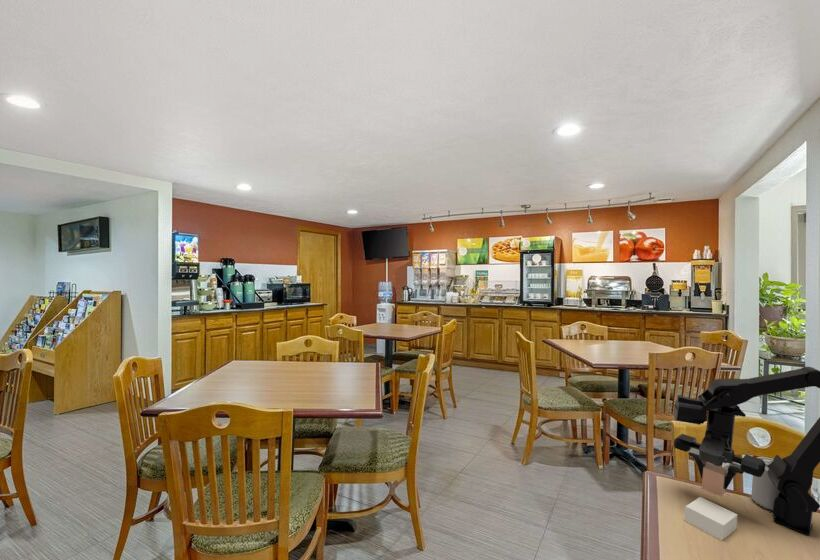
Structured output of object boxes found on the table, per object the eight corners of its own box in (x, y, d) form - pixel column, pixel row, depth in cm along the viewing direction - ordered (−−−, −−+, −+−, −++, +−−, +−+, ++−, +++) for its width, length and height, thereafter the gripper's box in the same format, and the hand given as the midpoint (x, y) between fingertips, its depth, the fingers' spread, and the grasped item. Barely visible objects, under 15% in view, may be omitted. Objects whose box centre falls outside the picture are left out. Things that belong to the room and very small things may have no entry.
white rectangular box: (735, 530, 98) (737, 514, 98) (721, 541, 94) (723, 525, 93) (698, 511, 105) (700, 496, 104) (684, 521, 100) (685, 506, 100)
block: (726, 490, 107) (728, 469, 107) (722, 497, 104) (724, 474, 104) (706, 483, 111) (708, 462, 110) (701, 488, 108) (703, 467, 107)
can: (796, 513, 105) (799, 468, 105) (769, 513, 104) (771, 467, 104) (769, 497, 112) (771, 455, 112) (743, 497, 112) (746, 454, 112)
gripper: (669, 423, 108) (664, 478, 109) (759, 451, 94) (753, 514, 95) (682, 413, 115) (677, 465, 116) (768, 438, 101) (762, 497, 102)
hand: (714, 484), depth 107 cm, fingers closed on block, 4 cm apart
